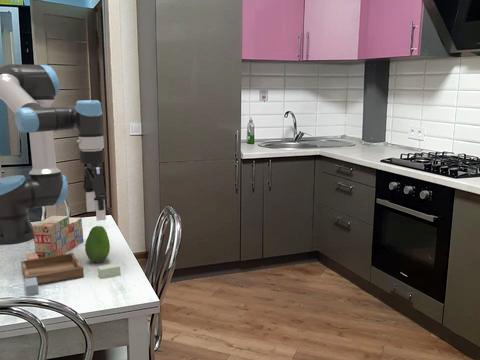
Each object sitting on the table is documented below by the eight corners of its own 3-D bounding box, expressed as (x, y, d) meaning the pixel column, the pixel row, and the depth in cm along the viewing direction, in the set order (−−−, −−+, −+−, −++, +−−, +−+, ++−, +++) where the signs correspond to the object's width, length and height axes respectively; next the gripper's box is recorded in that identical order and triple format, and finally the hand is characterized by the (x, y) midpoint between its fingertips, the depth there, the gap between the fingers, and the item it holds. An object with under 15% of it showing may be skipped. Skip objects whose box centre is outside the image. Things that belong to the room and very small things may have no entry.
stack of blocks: (68, 241, 184) (65, 209, 182) (83, 241, 183) (81, 209, 181) (35, 260, 163) (32, 224, 161) (52, 261, 162) (49, 225, 160)
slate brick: (25, 288, 140) (24, 278, 140) (37, 286, 142) (36, 277, 141) (26, 296, 135) (25, 286, 134) (38, 294, 136) (37, 284, 136)
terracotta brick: (27, 262, 161) (26, 254, 161) (36, 261, 163) (36, 252, 162) (29, 268, 156) (28, 259, 156) (39, 266, 158) (38, 257, 157)
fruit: (116, 260, 163) (114, 225, 160) (96, 267, 156) (94, 230, 154) (100, 255, 167) (98, 221, 165) (80, 262, 161) (78, 227, 159)
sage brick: (100, 279, 147) (100, 269, 146) (98, 276, 150) (97, 266, 149) (120, 275, 150) (120, 266, 149) (118, 272, 152) (117, 263, 152)
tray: (21, 270, 154) (21, 261, 154) (73, 261, 162) (72, 253, 161) (27, 287, 141) (26, 277, 140) (83, 277, 148) (83, 267, 148)
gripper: (71, 147, 164) (76, 209, 168) (88, 154, 142) (93, 225, 146) (94, 145, 167) (98, 206, 171) (114, 152, 146) (118, 222, 150)
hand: (96, 215), depth 159 cm, fingers open, 13 cm apart
